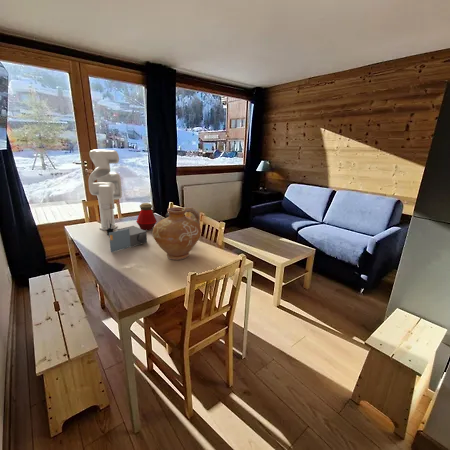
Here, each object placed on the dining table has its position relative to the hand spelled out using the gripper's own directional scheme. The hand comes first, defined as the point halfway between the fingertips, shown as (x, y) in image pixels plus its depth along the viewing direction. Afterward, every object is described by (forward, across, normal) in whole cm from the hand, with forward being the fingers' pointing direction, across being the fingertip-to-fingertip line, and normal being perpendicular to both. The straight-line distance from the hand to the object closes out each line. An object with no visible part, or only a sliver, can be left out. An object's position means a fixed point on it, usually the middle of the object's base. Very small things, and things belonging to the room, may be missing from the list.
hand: (110, 234), depth 152 cm
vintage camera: (+11, -14, +42) cm, 45 cm away
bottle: (+11, -38, +23) cm, 46 cm away
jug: (+10, +18, +38) cm, 43 cm away
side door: (+10, +1, +5) cm, 11 cm away
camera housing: (+11, -12, +13) cm, 20 cm away
